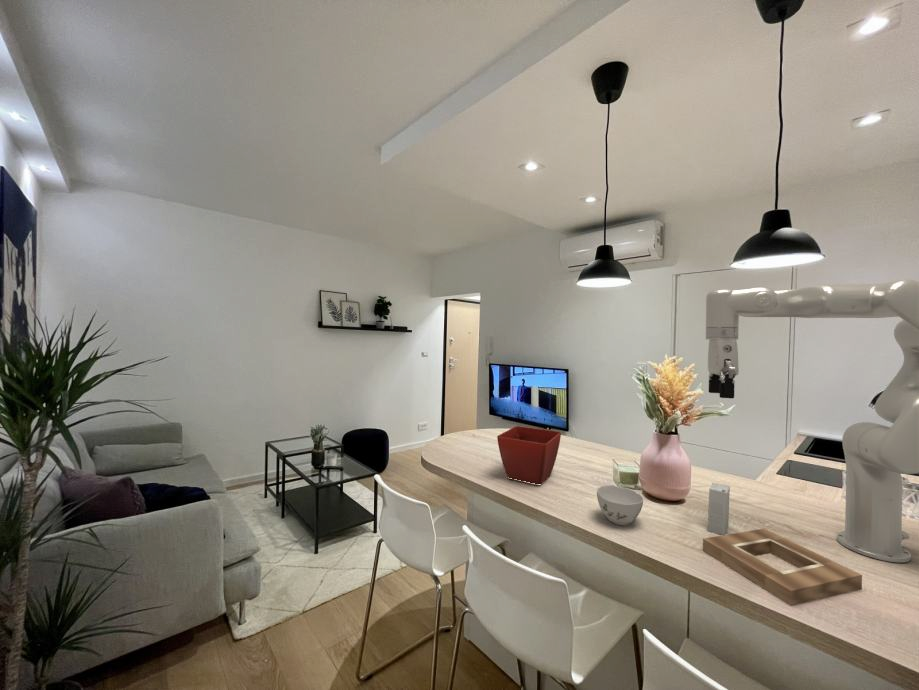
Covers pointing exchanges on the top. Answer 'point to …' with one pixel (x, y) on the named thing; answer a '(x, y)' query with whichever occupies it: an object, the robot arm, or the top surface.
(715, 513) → the skincare box
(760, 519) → the top surface
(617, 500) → the teacup
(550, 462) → the plant pot
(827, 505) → the top surface
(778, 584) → the picture frame
